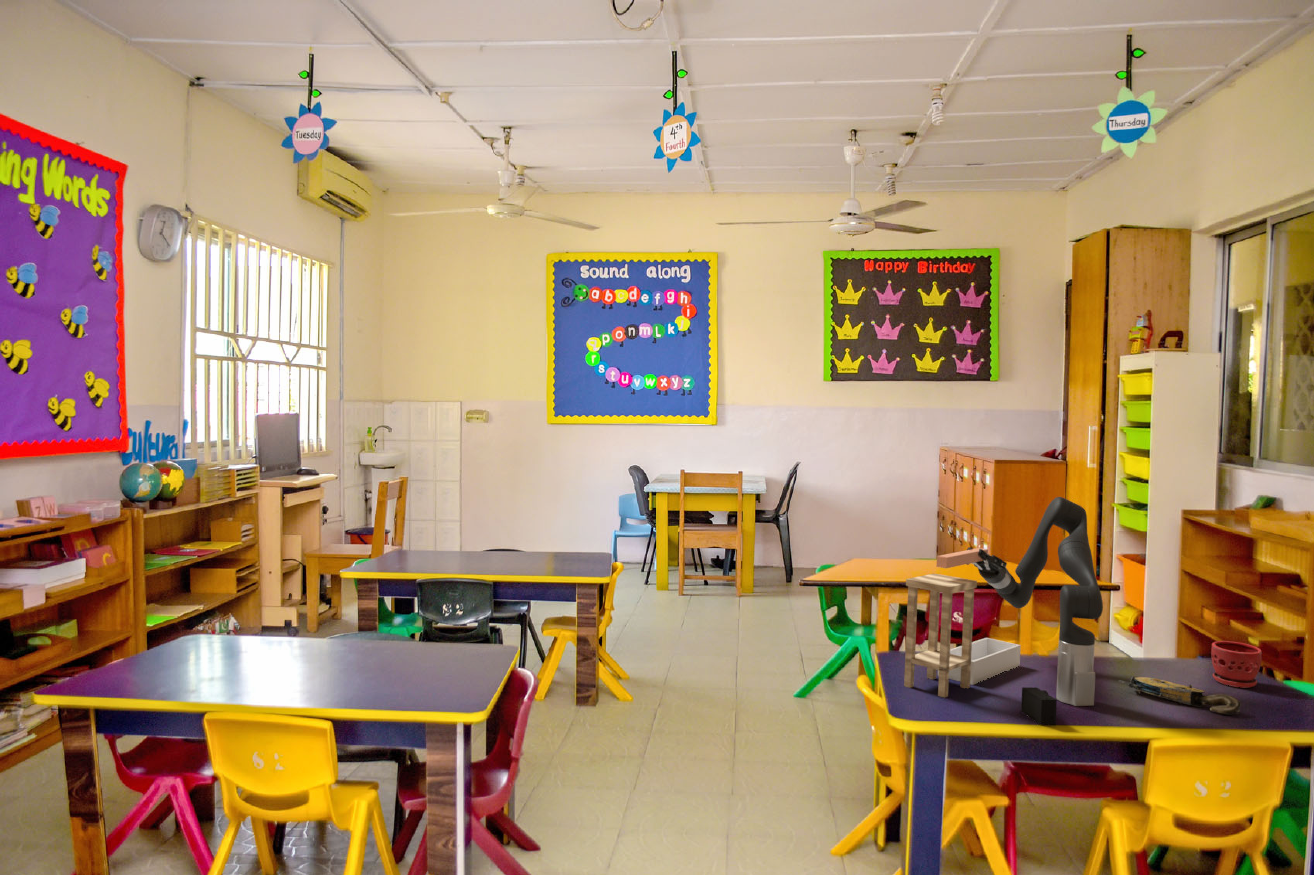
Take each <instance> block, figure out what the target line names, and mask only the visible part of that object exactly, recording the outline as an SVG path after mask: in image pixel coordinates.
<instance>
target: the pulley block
mask: <svg viewBox="0 0 1314 875" xmlns="http://www.w3.org/2000/svg"><path fill="white" fill-rule="evenodd" d="M1118 682H1120V683H1123V684H1126V685H1127V686H1128V688H1129V689H1130V688H1131V689H1132V688H1133V689H1135V690H1136V691H1137V692H1138V693H1139V694H1141V692H1142V693H1145V694H1148V695H1151V696H1156V697H1158V698H1161V699H1166V700H1170V701H1174V702H1178V703H1179V704H1180V705H1183V706H1184V705H1189V706H1193V707H1197V708H1202V707H1204V706H1207V705H1208V706H1211V707H1210V708H1209V711H1210V712H1212V713H1213V712H1214V713H1217V714H1222V715H1233V714H1240V713H1241V712H1240V709H1241V706H1242V703H1241V701H1240V700H1238V699H1237V698H1236V697H1234V696H1231V695H1229V694H1224V693H1221V694H1220V693H1218V694H1212V695H1203V694H1205V693H1206V691H1204V690H1201V689H1198V688H1195V687H1192V684H1189V685H1188V686H1187V685H1183V684H1179V683H1175V682H1171V681H1167V680H1165V679H1160V678H1155V677H1154V678H1153V677H1145V676H1144V677H1143V676H1140V677H1139V676H1132V677H1131V679H1130V680H1129V681H1125V680H1122V679H1119V680H1118Z"/></svg>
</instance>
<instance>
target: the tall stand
mask: <svg viewBox="0 0 1314 875" xmlns="http://www.w3.org/2000/svg"><path fill="white" fill-rule="evenodd" d="M977 585H978V581H977V580H973V579H968V578H962V577H957V576H951V575H950V576H949V575H945V574H940V573H939V574H938V573H931V574H926V575H921V576H915V577H910V578H909V577H908V578H906V579H905V586H906V587H907V588H908V589H907V607H906V608H907V611H906V629H905V630H906V632H905V633H906V634H905V657H904V680H903V682H904V683H903V686H904V687H906V688H909V689H910V688H913V687H914V686H915V685H914V684H915V665H917V666H921V667H925V668H926V679H928V678H929V680H933V681H934V680H935V679H937V671H938V670H939V676H938V689H937V690H938V691H937V696H938V697H941V698H947V697H949V684H950V683H949V671H950V670H952V669H955V668H958V667H961V681H959V682H960V683H959V684H960V685H959V686H960V688H962V689H965V688H967V689H969V688H971V684H970V672H971V650H972V642H973V624H974V623H973V622H974V603H975V602H974V601H975V599H974V598H975V589H976V588H978V586H977ZM918 589H921V590H926V591H930V595H929V618H928V637H927V638H928V643H927V650H925V651H921V652H918V653H916V644H917V642H916V641H917V640H916V639H917V637H916V636H917V615H918V593H919V591H918ZM960 592H964V594H963V613H962V615H963V616H962V636H961V637H962V641H961V642H962V643H961V646H962V657H961V656H957V655H953V654H950V649H951V632H952V631H951V630H952V610H953V594H956V593H960ZM940 593H942V594H940ZM940 595H942V596H940ZM940 597H941V617H940V618H941V619H940V618H939V615H940ZM939 619H940V638H939ZM939 640H940V641H939ZM938 642H939V644H940V645H939V644H938ZM938 645H939V650H938Z"/></svg>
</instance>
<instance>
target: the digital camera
mask: <svg viewBox="0 0 1314 875" xmlns="http://www.w3.org/2000/svg"><path fill="white" fill-rule="evenodd" d="M1057 700H1058V699H1057V698H1056V697H1054V696H1051V695H1050V694H1049V693H1048V691H1047V690H1041V689H1040V688H1038V687H1032V686H1031V687H1026V686H1025V687H1022V688H1021V705H1020V706H1021V707H1020V709H1021V710H1020V712H1021V713H1022V712H1023V713H1024V714H1023V713H1022V714H1023V715H1025V716H1026V715H1028V716H1029V717H1030V718H1029V717H1028V716H1027V717H1028V718H1029V719H1031V720H1032V719H1033V720H1032V721H1034V720H1035V721H1036V722H1038V723H1039V724H1042V725H1041V726H1056V722H1057V708H1058V706H1057V705H1058V701H1057ZM1035 721H1034V722H1035ZM1036 722H1035V723H1036ZM1038 723H1037V724H1038ZM1039 724H1038V725H1039Z"/></svg>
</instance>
